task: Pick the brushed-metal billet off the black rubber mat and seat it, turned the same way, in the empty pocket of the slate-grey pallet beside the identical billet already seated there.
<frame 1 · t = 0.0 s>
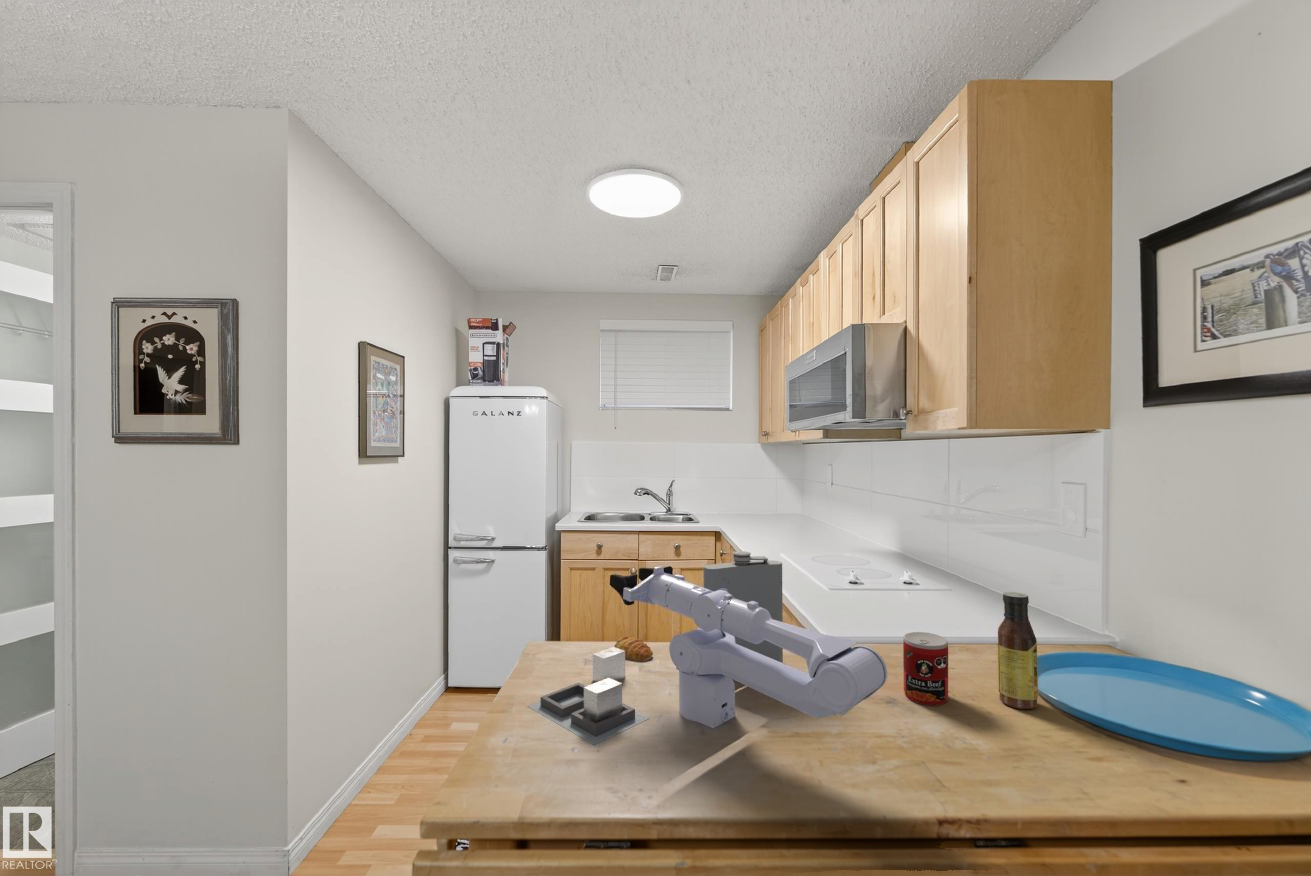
hand: (625, 576, 117), 22 cm above the worktop, tool horizontal, fingers open, 7 cm apart
metal billet: (609, 682, 117), resting on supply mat
canned food: (925, 697, 111), on the worktop
pastry: (633, 657, 133), on the worktop
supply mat: (609, 684, 117), on the worktop
flask: (742, 671, 124), on the worktop
pallet: (586, 718, 103), on the worktop
sauce bottle: (1017, 703, 108), on the worktop
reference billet: (603, 720, 100), point 1 cm above the worktop, touching pallet
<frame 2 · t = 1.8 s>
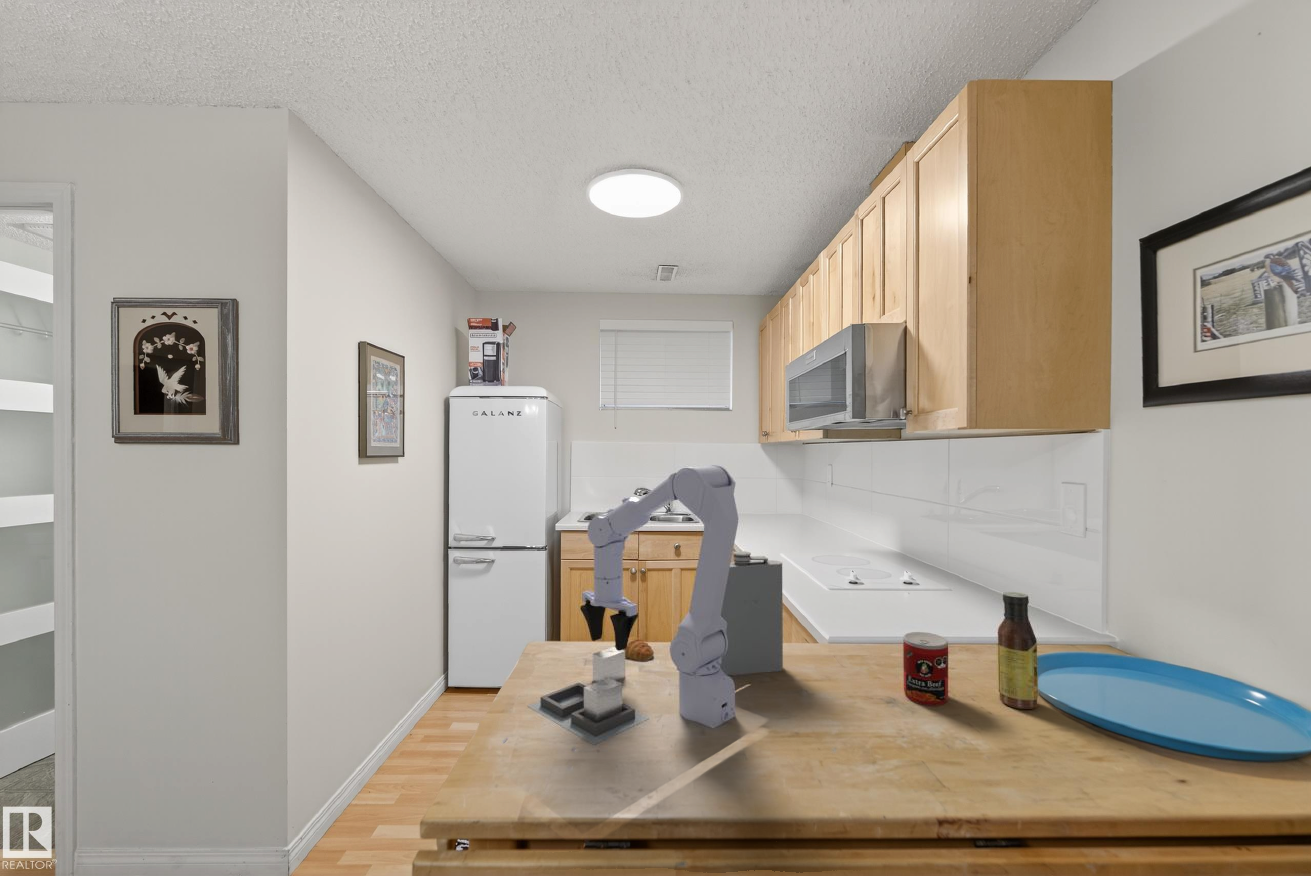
hand: (608, 644, 117), 8 cm above the worktop, tool pointing down, fingers open, 7 cm apart
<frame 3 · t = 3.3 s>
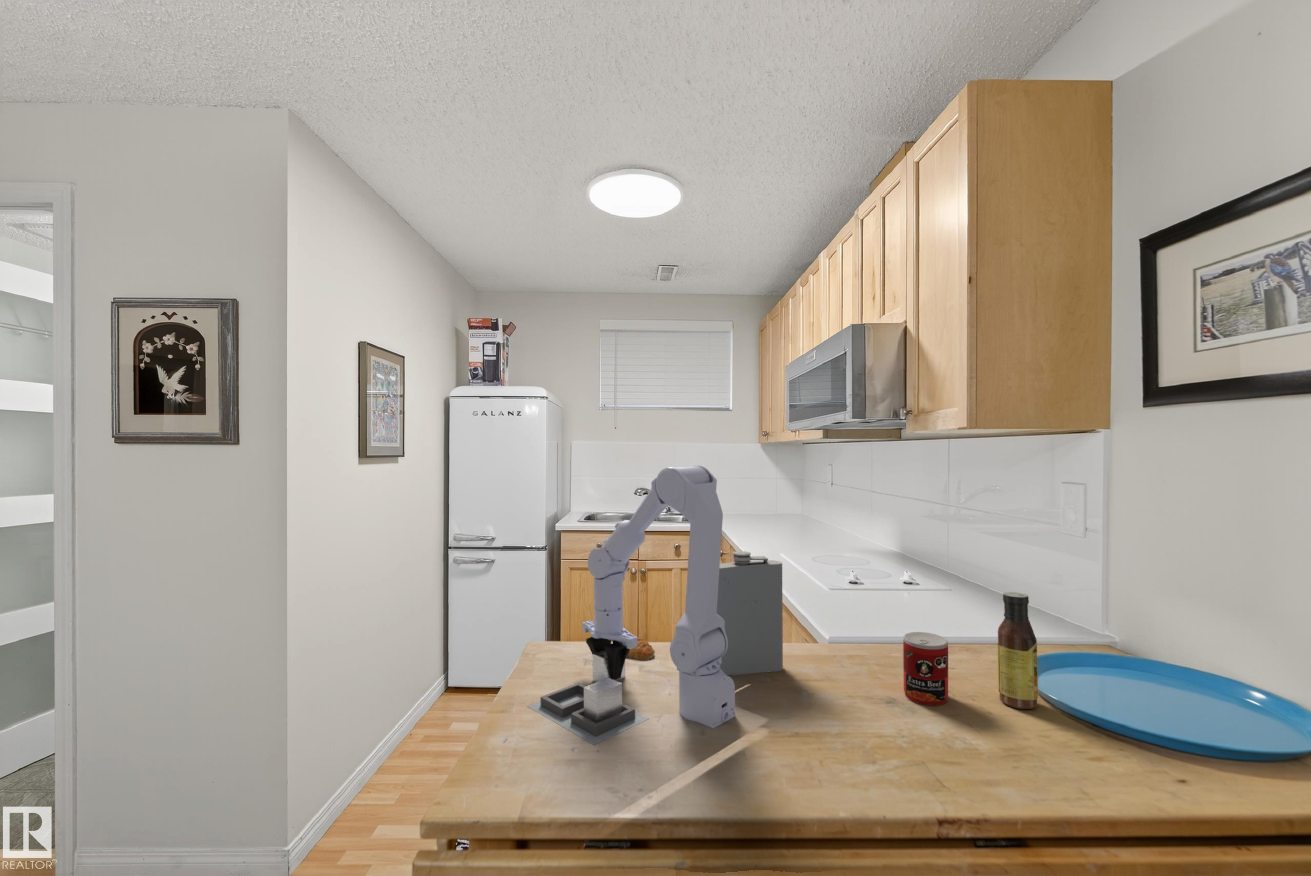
hand: (609, 675, 117), 2 cm above the worktop, tool pointing down, fingers closed on metal billet, 3 cm apart
metal billet: (609, 682, 117), resting on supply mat, touching gripper
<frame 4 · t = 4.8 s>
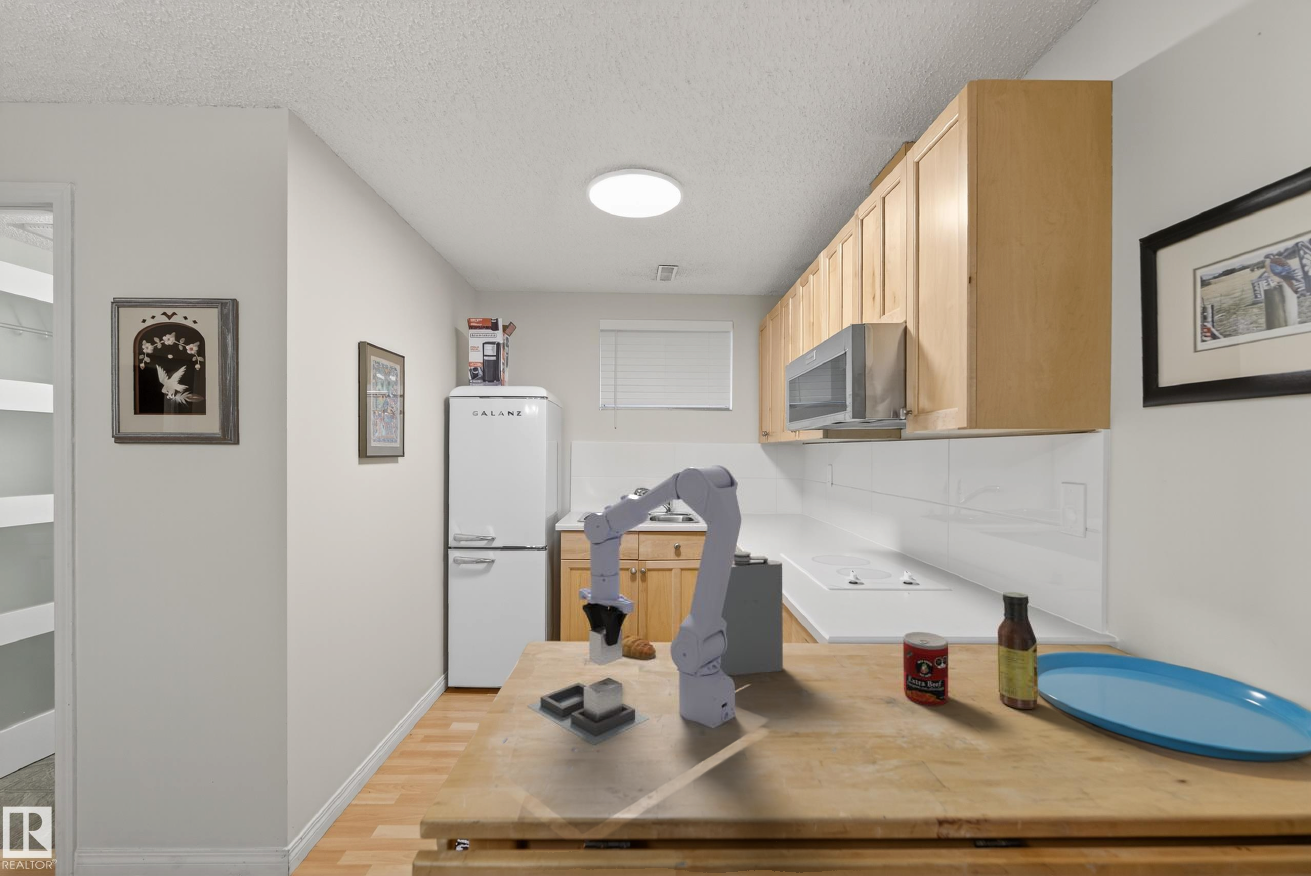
hand: (605, 641, 116), 9 cm above the worktop, tool pointing down, fingers closed on metal billet, 3 cm apart
metal billet: (605, 659, 116), point 5 cm above the worktop, touching gripper
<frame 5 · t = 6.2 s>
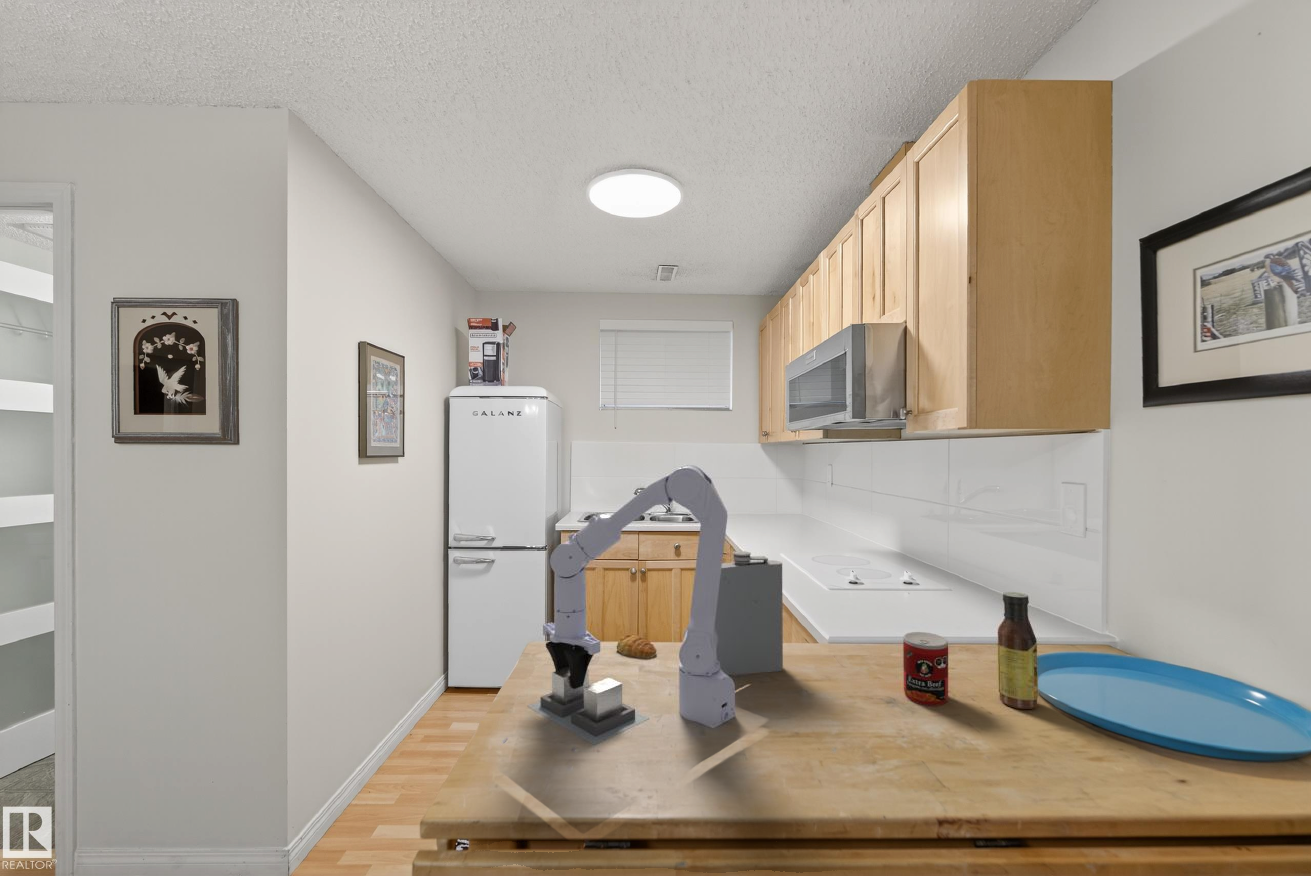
hand: (570, 683, 106), 5 cm above the worktop, tool pointing down, fingers closed on metal billet, 3 cm apart
metal billet: (570, 703, 106), point 1 cm above the worktop, touching gripper, pallet
when the fingers open (4 cm above the worktop, at t = 7.2 s): metal billet stays where it is, resting on pallet.
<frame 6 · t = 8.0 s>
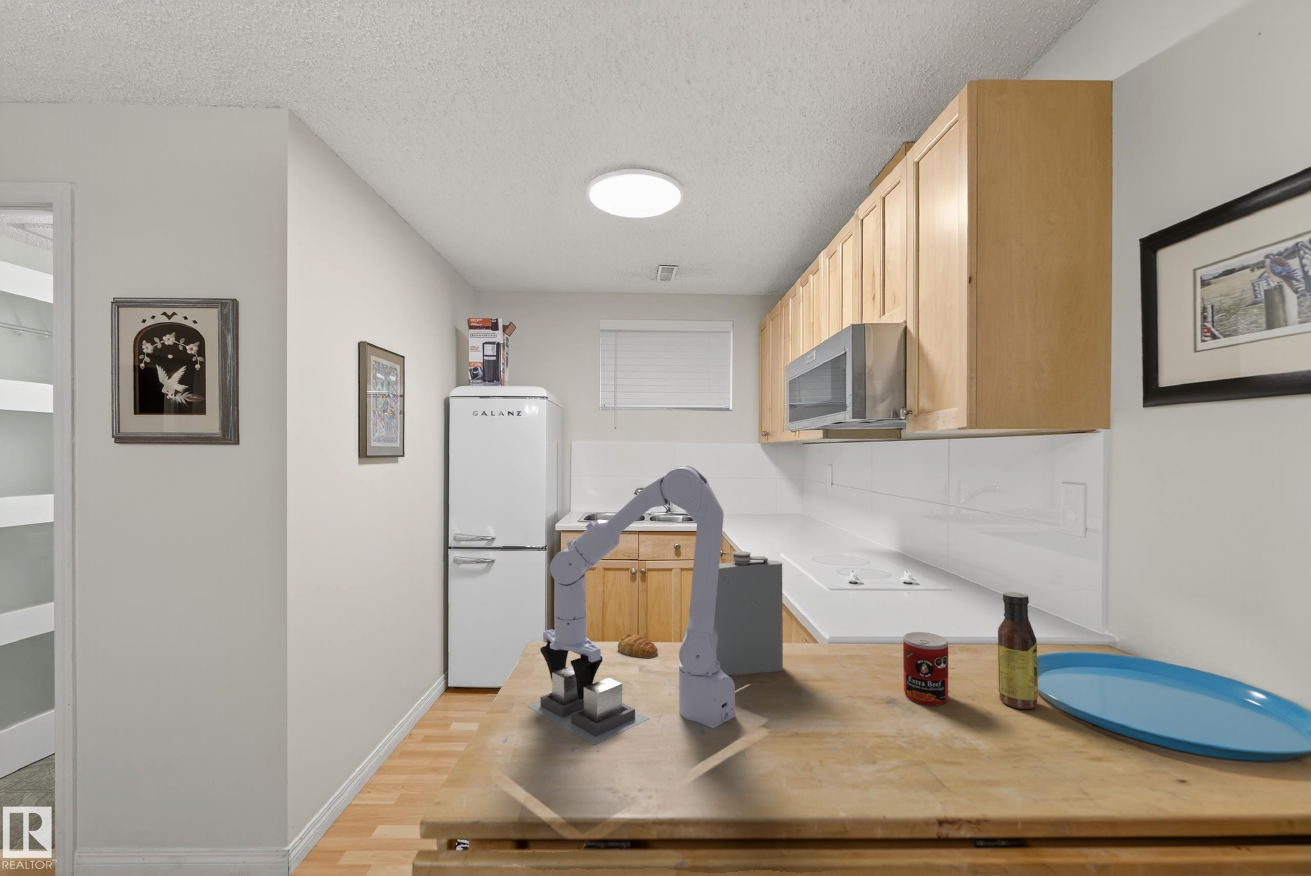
hand: (571, 690, 106), 4 cm above the worktop, tool pointing down, fingers open, 7 cm apart
metal billet: (570, 703, 106), point 1 cm above the worktop, touching pallet
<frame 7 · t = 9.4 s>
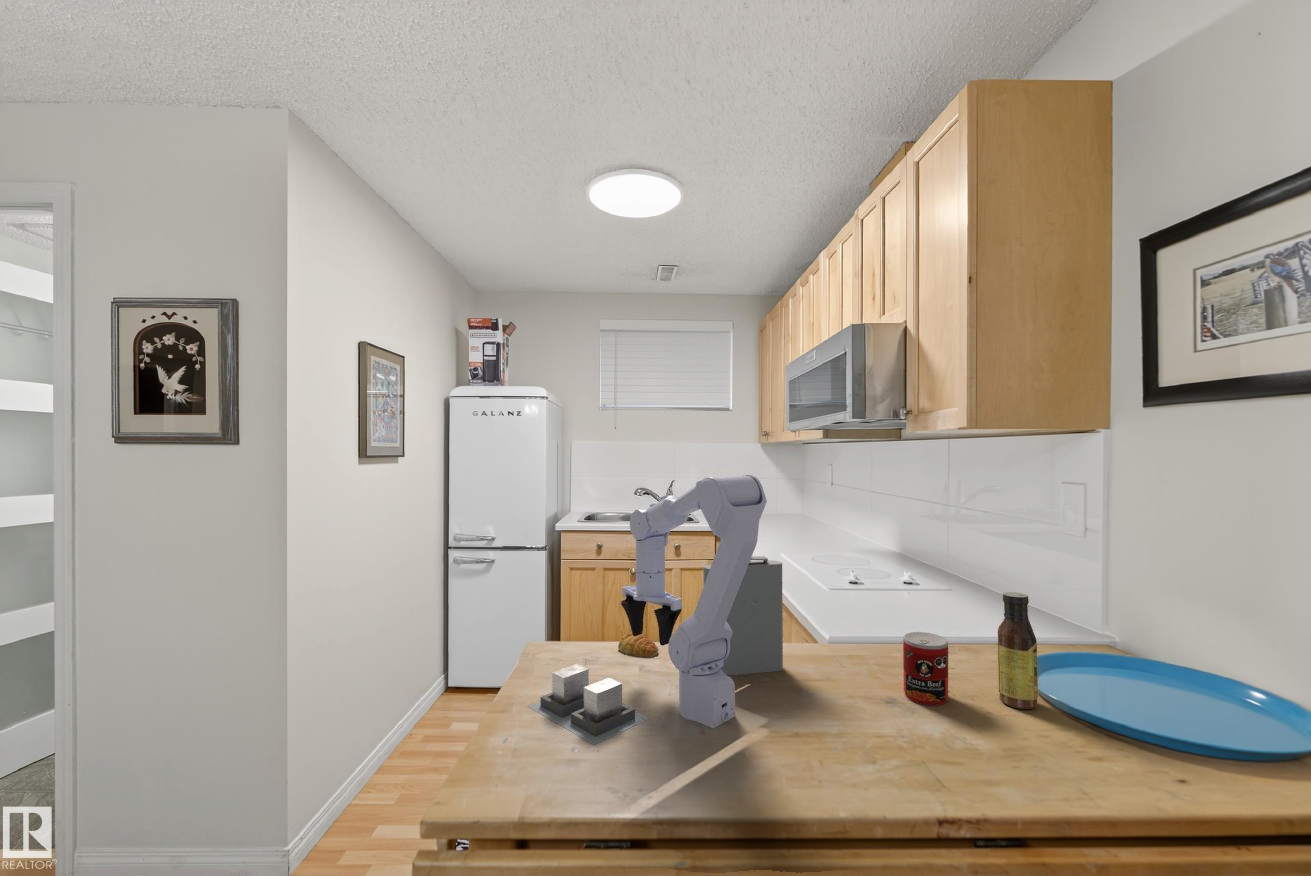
hand: (650, 639, 116), 9 cm above the worktop, tool pointing down, fingers open, 7 cm apart
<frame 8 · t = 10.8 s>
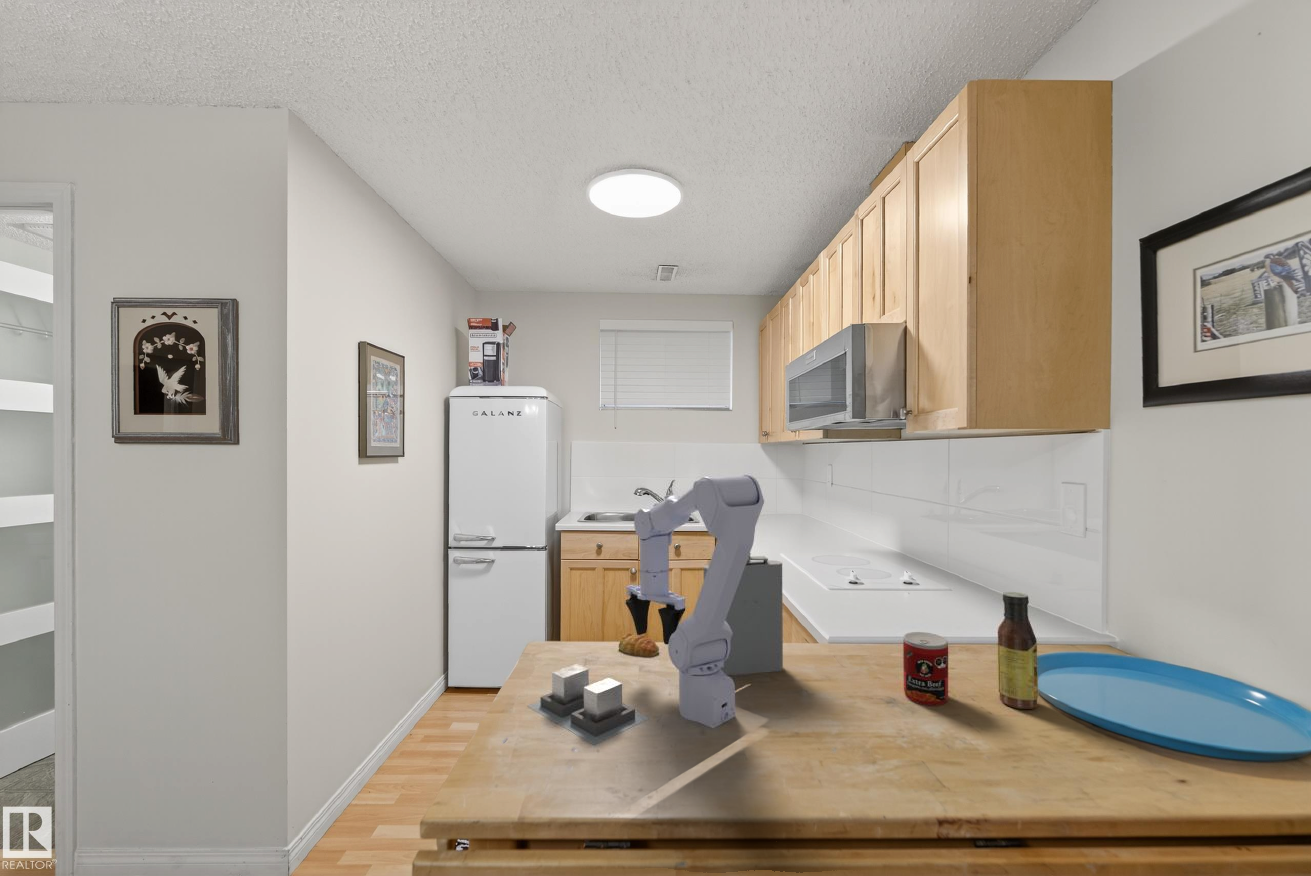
hand: (655, 638, 117), 9 cm above the worktop, tool pointing down, fingers open, 7 cm apart
at the end: metal billet 0.1 cm from the target spot on the pallet, point 1.2 cm above the pallet's base; metal billet tilted 0°; the gripper is holding nothing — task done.
